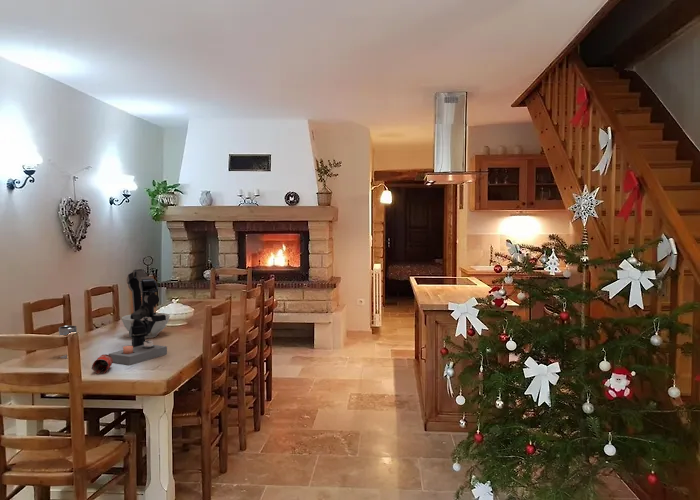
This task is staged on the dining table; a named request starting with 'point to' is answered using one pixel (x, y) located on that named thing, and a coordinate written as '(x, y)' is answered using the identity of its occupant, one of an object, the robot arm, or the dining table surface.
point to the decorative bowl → (155, 329)
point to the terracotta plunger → (127, 349)
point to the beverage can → (102, 363)
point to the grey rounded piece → (148, 344)
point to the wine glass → (67, 332)
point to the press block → (138, 354)
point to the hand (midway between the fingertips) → (148, 333)
